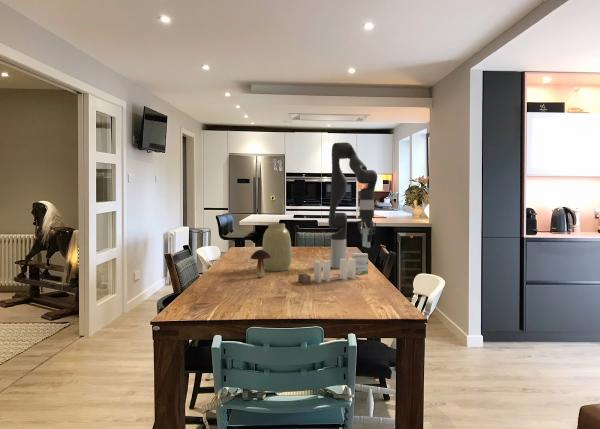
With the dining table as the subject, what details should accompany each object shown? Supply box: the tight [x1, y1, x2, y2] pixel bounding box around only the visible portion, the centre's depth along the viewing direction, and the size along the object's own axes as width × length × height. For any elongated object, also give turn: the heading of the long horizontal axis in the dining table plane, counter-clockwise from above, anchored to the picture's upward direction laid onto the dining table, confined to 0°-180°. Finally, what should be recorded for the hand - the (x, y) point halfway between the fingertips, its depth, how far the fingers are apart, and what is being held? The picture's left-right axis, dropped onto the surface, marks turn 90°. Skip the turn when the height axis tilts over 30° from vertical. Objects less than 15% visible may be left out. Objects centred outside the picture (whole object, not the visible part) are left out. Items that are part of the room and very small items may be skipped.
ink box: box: [351, 252, 369, 275], centre depth 247 cm, size 9×5×12 cm, turn 84°
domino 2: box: [322, 259, 331, 282], centre depth 226 cm, size 5×2×10 cm, turn 25°
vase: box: [261, 222, 292, 272], centre depth 262 cm, size 17×17×27 cm
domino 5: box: [361, 228, 371, 248], centre depth 232 cm, size 5×2×10 cm, turn 25°
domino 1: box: [313, 260, 322, 282], centre depth 224 cm, size 5×2×10 cm, turn 25°
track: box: [293, 272, 363, 286], centre depth 227 cm, size 10×35×5 cm, turn 115°
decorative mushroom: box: [250, 249, 271, 279], centre depth 238 cm, size 11×11×15 cm
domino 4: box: [347, 257, 357, 279], centre depth 232 cm, size 5×2×10 cm, turn 25°
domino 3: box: [339, 259, 348, 280], centre depth 230 cm, size 5×2×10 cm, turn 25°
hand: (366, 241), depth 232 cm, fingers closed on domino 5, 5 cm apart
